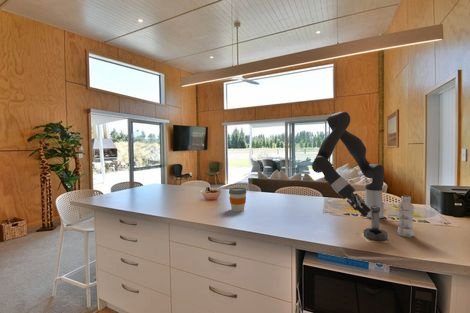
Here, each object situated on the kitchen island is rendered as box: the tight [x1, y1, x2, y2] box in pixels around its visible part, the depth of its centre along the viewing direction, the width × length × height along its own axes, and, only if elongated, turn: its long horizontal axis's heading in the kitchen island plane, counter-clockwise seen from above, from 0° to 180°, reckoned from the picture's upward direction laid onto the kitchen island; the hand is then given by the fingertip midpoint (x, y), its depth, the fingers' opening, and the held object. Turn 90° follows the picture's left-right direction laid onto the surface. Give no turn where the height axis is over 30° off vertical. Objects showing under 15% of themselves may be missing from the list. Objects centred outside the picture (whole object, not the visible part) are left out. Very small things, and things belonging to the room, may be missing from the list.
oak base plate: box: [356, 232, 396, 244], centre depth 116 cm, size 12×12×1 cm
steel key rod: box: [370, 206, 380, 233], centre depth 116 cm, size 4×4×15 cm
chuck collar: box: [363, 227, 388, 241], centre depth 116 cm, size 9×9×3 cm
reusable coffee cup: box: [228, 187, 247, 212], centre depth 175 cm, size 13×13×15 cm
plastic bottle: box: [396, 195, 415, 238], centre depth 119 cm, size 6×7×20 cm
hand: (367, 213), depth 118 cm, fingers open, 8 cm apart
